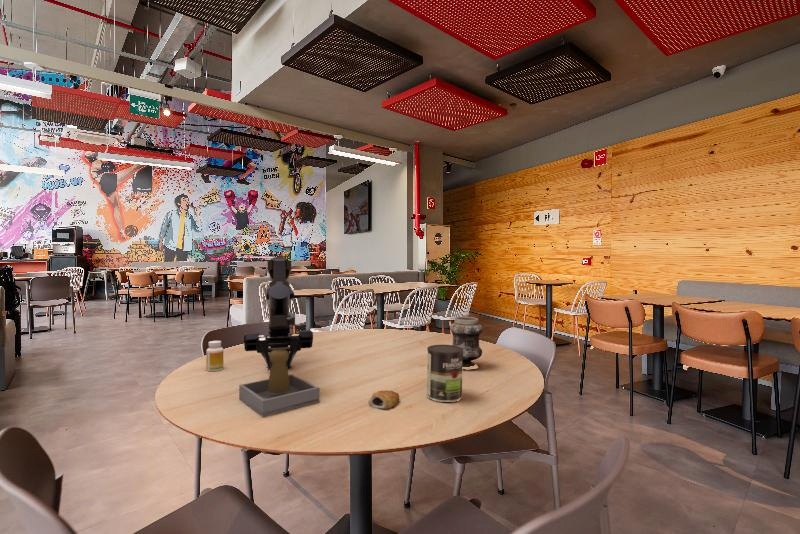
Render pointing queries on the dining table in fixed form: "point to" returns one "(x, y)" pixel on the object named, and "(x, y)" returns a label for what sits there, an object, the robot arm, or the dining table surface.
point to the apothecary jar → (467, 338)
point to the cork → (279, 371)
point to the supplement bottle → (214, 356)
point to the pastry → (384, 399)
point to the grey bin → (278, 396)
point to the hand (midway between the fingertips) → (279, 367)
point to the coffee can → (444, 373)
